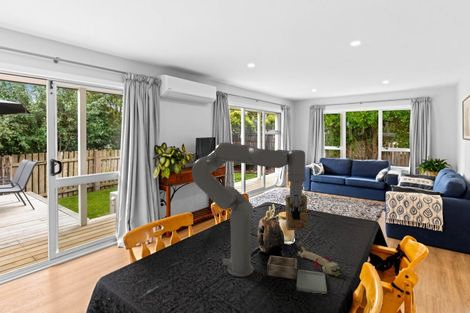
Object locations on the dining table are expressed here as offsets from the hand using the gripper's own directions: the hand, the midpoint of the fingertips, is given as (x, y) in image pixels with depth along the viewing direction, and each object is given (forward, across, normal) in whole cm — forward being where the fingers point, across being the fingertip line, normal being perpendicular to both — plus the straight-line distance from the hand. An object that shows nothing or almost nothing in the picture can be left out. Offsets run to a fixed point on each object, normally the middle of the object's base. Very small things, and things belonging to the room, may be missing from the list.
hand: (296, 217), depth 119 cm
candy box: (+6, 0, 0) cm, 6 cm away
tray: (+28, +4, +6) cm, 29 cm away
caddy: (+28, -2, -6) cm, 29 cm away
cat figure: (+29, -13, +11) cm, 33 cm away
